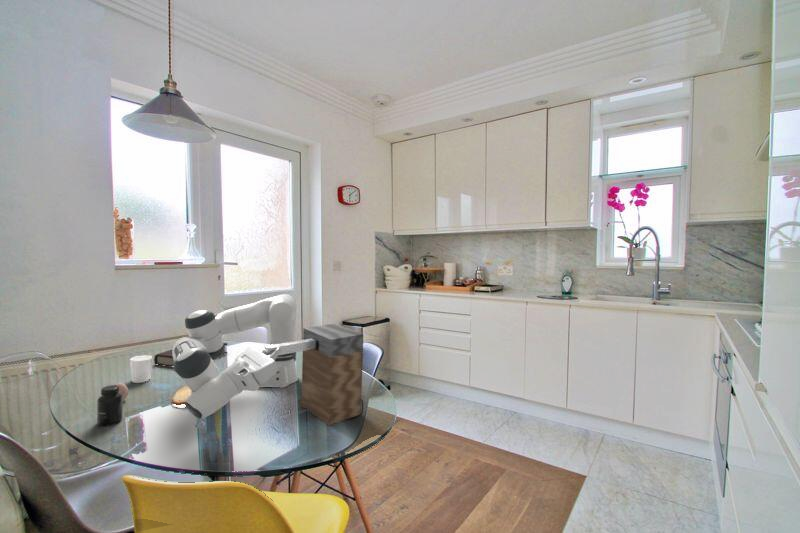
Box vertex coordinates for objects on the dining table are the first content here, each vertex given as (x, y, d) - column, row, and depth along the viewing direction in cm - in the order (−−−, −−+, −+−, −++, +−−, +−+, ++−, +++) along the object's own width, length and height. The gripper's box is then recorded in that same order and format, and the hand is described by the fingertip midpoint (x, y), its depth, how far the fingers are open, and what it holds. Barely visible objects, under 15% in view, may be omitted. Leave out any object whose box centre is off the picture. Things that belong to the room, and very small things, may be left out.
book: (197, 349, 206) (197, 339, 206) (227, 353, 202) (227, 343, 201) (154, 365, 179) (154, 353, 179) (187, 370, 175) (187, 358, 174)
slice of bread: (177, 411, 134) (177, 401, 134) (161, 396, 146) (161, 387, 145) (226, 396, 147) (226, 387, 147) (208, 384, 159) (208, 376, 159)
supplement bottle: (94, 428, 119) (94, 392, 118) (100, 419, 125) (99, 385, 125) (120, 424, 122) (120, 389, 122) (124, 415, 128) (124, 382, 128)
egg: (108, 405, 135) (108, 386, 135) (113, 399, 140) (113, 381, 140) (125, 403, 137) (125, 384, 137) (129, 397, 142) (129, 379, 142)
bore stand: (328, 425, 127) (331, 339, 125) (301, 405, 142) (303, 328, 140) (360, 414, 137) (363, 334, 135) (332, 396, 151) (334, 323, 149)
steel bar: (267, 357, 119) (268, 348, 119) (264, 355, 121) (264, 346, 121) (315, 348, 131) (315, 340, 131) (311, 346, 133) (311, 338, 133)
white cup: (155, 379, 161) (155, 357, 160) (135, 385, 154) (135, 362, 154) (147, 375, 165) (147, 354, 165) (127, 380, 159) (126, 358, 158)
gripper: (234, 372, 124) (269, 347, 131) (257, 392, 109) (295, 362, 116) (225, 358, 121) (261, 333, 129) (247, 377, 106) (286, 347, 114)
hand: (277, 347), depth 123 cm, fingers closed on steel bar, 3 cm apart
